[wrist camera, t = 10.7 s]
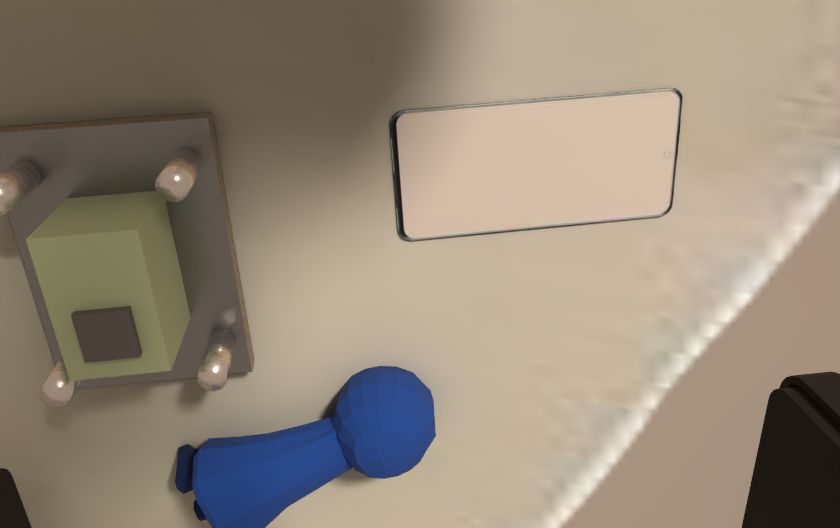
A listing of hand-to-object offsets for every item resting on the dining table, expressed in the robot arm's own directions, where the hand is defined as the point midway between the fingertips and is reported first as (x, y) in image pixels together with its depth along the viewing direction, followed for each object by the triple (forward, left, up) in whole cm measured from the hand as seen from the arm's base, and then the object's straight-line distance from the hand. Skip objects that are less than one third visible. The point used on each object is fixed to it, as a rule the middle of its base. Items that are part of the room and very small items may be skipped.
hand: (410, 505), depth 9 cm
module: (+8, -12, -27) cm, 30 cm away
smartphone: (+5, +9, -29) cm, 31 cm away
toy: (+20, -4, -29) cm, 35 cm away
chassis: (+8, -12, -28) cm, 31 cm away
